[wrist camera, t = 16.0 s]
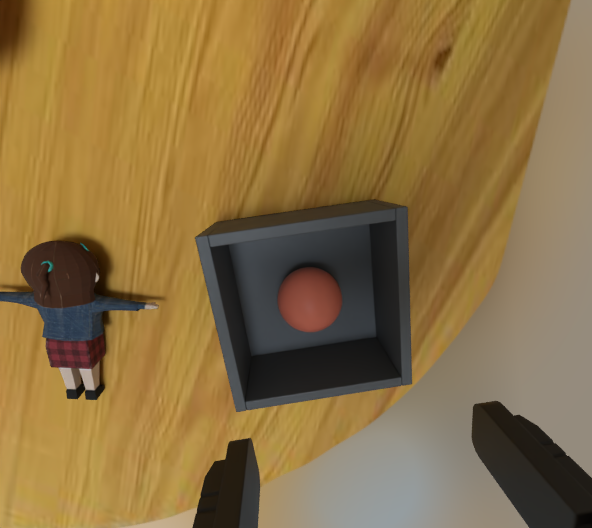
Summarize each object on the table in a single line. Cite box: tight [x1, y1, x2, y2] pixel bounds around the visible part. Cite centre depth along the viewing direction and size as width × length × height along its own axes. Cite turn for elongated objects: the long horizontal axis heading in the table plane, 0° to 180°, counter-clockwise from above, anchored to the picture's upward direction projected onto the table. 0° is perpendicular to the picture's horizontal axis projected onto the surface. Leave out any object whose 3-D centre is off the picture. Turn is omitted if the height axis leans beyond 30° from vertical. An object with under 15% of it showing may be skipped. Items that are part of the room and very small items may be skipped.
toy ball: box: [277, 267, 342, 332], centre depth 24 cm, size 5×5×5 cm
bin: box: [195, 200, 412, 412], centre depth 24 cm, size 14×14×7 cm
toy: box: [0, 241, 159, 400], centre depth 24 cm, size 14×5×15 cm
